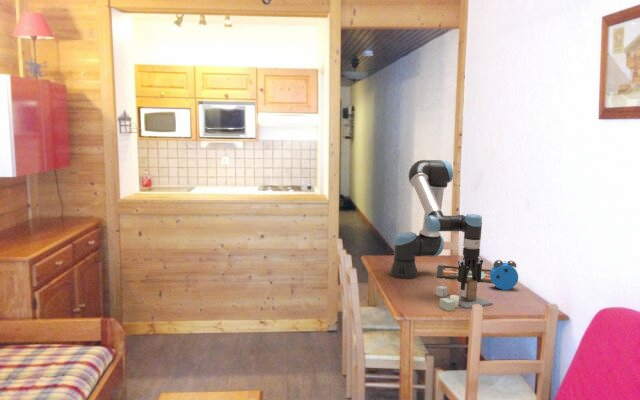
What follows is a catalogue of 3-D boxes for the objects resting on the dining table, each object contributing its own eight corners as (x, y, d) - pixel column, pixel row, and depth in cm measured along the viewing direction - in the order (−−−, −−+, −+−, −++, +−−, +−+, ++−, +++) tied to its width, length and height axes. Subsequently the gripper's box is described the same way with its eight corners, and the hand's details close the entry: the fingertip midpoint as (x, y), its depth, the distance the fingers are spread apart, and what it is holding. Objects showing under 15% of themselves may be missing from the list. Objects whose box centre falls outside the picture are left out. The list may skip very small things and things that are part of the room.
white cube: (435, 295, 263) (436, 287, 262) (440, 293, 266) (440, 285, 265) (442, 297, 260) (442, 289, 260) (447, 295, 263) (447, 287, 262)
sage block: (439, 307, 245) (439, 298, 244) (446, 306, 246) (447, 297, 246) (446, 311, 239) (447, 302, 239) (454, 310, 241) (455, 301, 240)
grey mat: (443, 298, 257) (443, 296, 257) (468, 295, 264) (468, 293, 264) (466, 309, 243) (466, 306, 243) (492, 304, 250) (492, 302, 250)
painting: (436, 268, 320) (436, 264, 320) (497, 273, 313) (497, 269, 313) (436, 279, 293) (437, 275, 293) (503, 285, 286) (504, 280, 286)
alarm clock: (514, 287, 280) (516, 259, 278) (517, 291, 274) (520, 262, 272) (488, 286, 281) (490, 258, 279) (491, 289, 275) (493, 261, 273)
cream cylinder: (447, 305, 247) (448, 295, 246) (454, 304, 249) (455, 294, 248) (453, 308, 243) (454, 297, 243) (460, 307, 245) (461, 296, 245)
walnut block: (460, 297, 254) (461, 279, 253) (468, 296, 256) (469, 278, 255) (468, 300, 250) (469, 281, 249) (476, 299, 252) (477, 280, 251)
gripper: (462, 250, 243) (458, 300, 246) (491, 247, 251) (488, 296, 254) (451, 247, 250) (448, 295, 252) (480, 244, 258) (477, 291, 261)
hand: (468, 295), depth 253 cm, fingers closed on walnut block, 5 cm apart
